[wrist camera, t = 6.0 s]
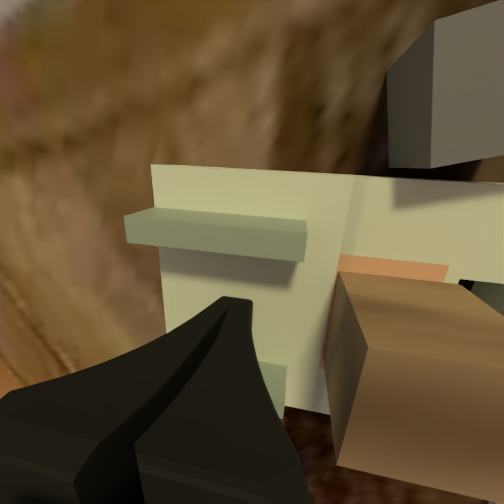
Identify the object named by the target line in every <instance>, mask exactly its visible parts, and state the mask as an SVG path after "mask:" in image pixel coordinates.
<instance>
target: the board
mask: <svg viewBox="0 0 504 504" xmlns="http://www.w3.org/2000/svg"><path fill="white" fill-rule="evenodd" d="M151 172H152V183H153V193H154V204H155V207H154V208H150V209H147V210H143V211H140V212H136V213H133V214H129V215H126V216H124V222H125V229H126V236H127V243H136V244H145V245H154V246H158V247H159V258H160V269H161V279H162V290H163V301H164V311H165V322H166V333H168V332H170V331H172V330H173V329H175V328H176V327H178V326H180V325H181V324H183V323H184V322H186V321H188V320H189V319H191V318H192V317H194V316H195V315H197V314H198V313H200V312H201V311H202V310H204V309H205V308H207V307H208V306H209V305H211V304H212V303H213V302H215V301H216V300H218V299H219V298H220V297H222V296H229V297H236V298H243V299H250V300H252V302H253V315H252V337H253V342H254V347H255V352H256V356H257V360H258V363H259V367H260V370H261V373H262V376H263V379H264V382H265V385H266V387H267V390H268V392H269V395H270V397H271V400H272V402H273V405H274V407H275V409H276V412H277V414H278V416H279V418H281V419H283V413H284V405H285V406H290V407H294V408H299V409H304V410H309V411H314V412H319V413H324V414H328V415H330V410H329V402H328V394H327V386H326V378H325V370H324V362H323V352H324V346H325V341H326V336H327V331H328V325H329V320H330V315H331V309H332V304H333V299H334V294H335V288H336V283H337V278H338V273H339V271H345V272H354V273H363V274H372V275H381V276H390V277H399V278H407V279H416V280H425V281H434V282H443V283H452V284H458V282H459V280H460V279H465V280H473V281H475V282H474V284H473V287H472V289H471V291H470V292H471V293H473V294H474V295H475V296H477V297H478V298H479V299H481V300H482V301H484V302H485V303H486V304H488V305H489V306H490V307H492V308H493V309H494V310H496V311H497V312H499V313H500V314H501V315H503V316H504V183H491V182H473V181H455V180H437V179H419V178H401V177H383V176H365V175H347V174H330V173H312V172H294V171H276V170H258V169H240V168H222V167H204V166H186V165H151Z"/></svg>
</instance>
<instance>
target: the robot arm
mask: <svg viewBox="0 0 504 504" xmlns="http://www.w3.org/2000/svg"><path fill="white" fill-rule="evenodd" d="M252 315H253V302H252V300H250V299H243V298H236V297H229V296H222V297H220V298H219V299H218V300H216V301H215V302H213V303H212V304H211V305H209V306H208V307H207V308H205V309H204V310H202V311H201V312H200V313H198V314H197V315H195V316H194V317H192V318H191V319H189V320H188V321H186V322H184V323H183V324H181V325H180V326H178V327H176V328H175V329H173V330H172V331H170V332H168V333H166V334H165V335H163V336H161V337H159V338H157V339H155V340H153V341H151V342H149V343H147V344H145V345H143V346H141V347H139V348H137V349H134V350H132V351H130V352H127V353H125V354H123V355H120V356H118V357H116V358H113V359H111V360H108V361H106V362H103V363H100V364H98V365H95V366H92V367H89V368H87V369H84V370H81V371H78V372H75V373H72V374H69V375H65V376H62V377H59V378H55V379H52V380H49V381H45V382H42V383H38V384H35V385H31V386H28V387H24V388H20V389H17V390H13V391H10V392H9V393H7V394H6V395H5V396H4V397H2V398H1V399H0V504H312V503H311V498H310V494H309V490H308V486H307V482H306V479H305V475H304V471H303V468H302V464H301V460H300V458H299V456H298V454H297V452H296V450H295V448H294V446H293V444H292V443H291V441H290V439H289V437H288V435H287V433H286V431H285V429H284V427H283V425H282V422H281V420H280V418H279V416H278V414H277V412H276V409H275V407H274V405H273V402H272V400H271V397H270V395H269V392H268V390H267V387H266V385H265V382H264V379H263V376H262V373H261V370H260V367H259V363H258V360H257V356H256V352H255V347H254V342H253V337H252ZM488 504H500V503H496V502H492V501H489V502H488Z"/></svg>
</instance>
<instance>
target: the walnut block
mask: <svg viewBox="0 0 504 504" xmlns="http://www.w3.org/2000/svg"><path fill="white" fill-rule="evenodd" d="M323 362H324V370H325V378H326V386H327V394H328V402H329V410H330V417H331V425H332V433H333V441H334V449H335V457H336V464H337V465H338V466H343V467H347V468H351V469H355V470H360V471H364V472H368V473H372V474H377V475H381V476H385V477H389V478H394V479H398V480H402V481H406V482H411V483H415V484H419V485H424V486H428V487H432V488H436V489H441V490H445V491H449V492H453V493H458V494H462V495H466V496H470V497H475V498H479V499H483V500H487V501H492V502H496V503H500V504H504V316H503V315H501V314H500V313H499V312H497V311H496V310H494V309H493V308H492V307H490V306H489V305H488V304H486V303H485V302H484V301H482V300H481V299H479V298H478V297H477V296H475V295H474V294H473V293H471V292H470V291H469V290H467V289H466V288H464V287H463V286H462V285H460V284H452V283H443V282H434V281H425V280H416V279H407V278H399V277H390V276H381V275H372V274H363V273H354V272H345V271H339V273H338V278H337V283H336V288H335V294H334V299H333V304H332V309H331V315H330V320H329V325H328V331H327V336H326V341H325V346H324V352H323Z"/></svg>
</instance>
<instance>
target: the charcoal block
mask: <svg viewBox="0 0 504 504" xmlns="http://www.w3.org/2000/svg"><path fill="white" fill-rule="evenodd" d="M387 113H388V155H389V168H435V167H441V166H446V165H452V164H457V163H463V162H468V161H473V160H479V159H484V158H490V157H495V156H500V155H504V0H499V1H496V2H493V3H489V4H486V5H483V6H480V7H476V8H473V9H470V10H467V11H464V12H460V13H457V14H454V15H451V16H448V17H444V18H441V19H438V20H435V21H434V22H433V23H432V24H431V25H430V26H429V27H428V28H427V29H426V30H425V31H424V32H423V33H422V34H421V35H420V37H419V38H418V39H417V40H416V41H415V42H414V43H413V44H412V45H411V46H410V47H409V48H408V49H407V50H406V51H405V52H404V54H403V55H402V56H401V57H400V58H399V59H398V60H397V61H396V62H395V63H394V64H393V65H392V66H391V67H390V68H389V69H388V70H387Z"/></svg>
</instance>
